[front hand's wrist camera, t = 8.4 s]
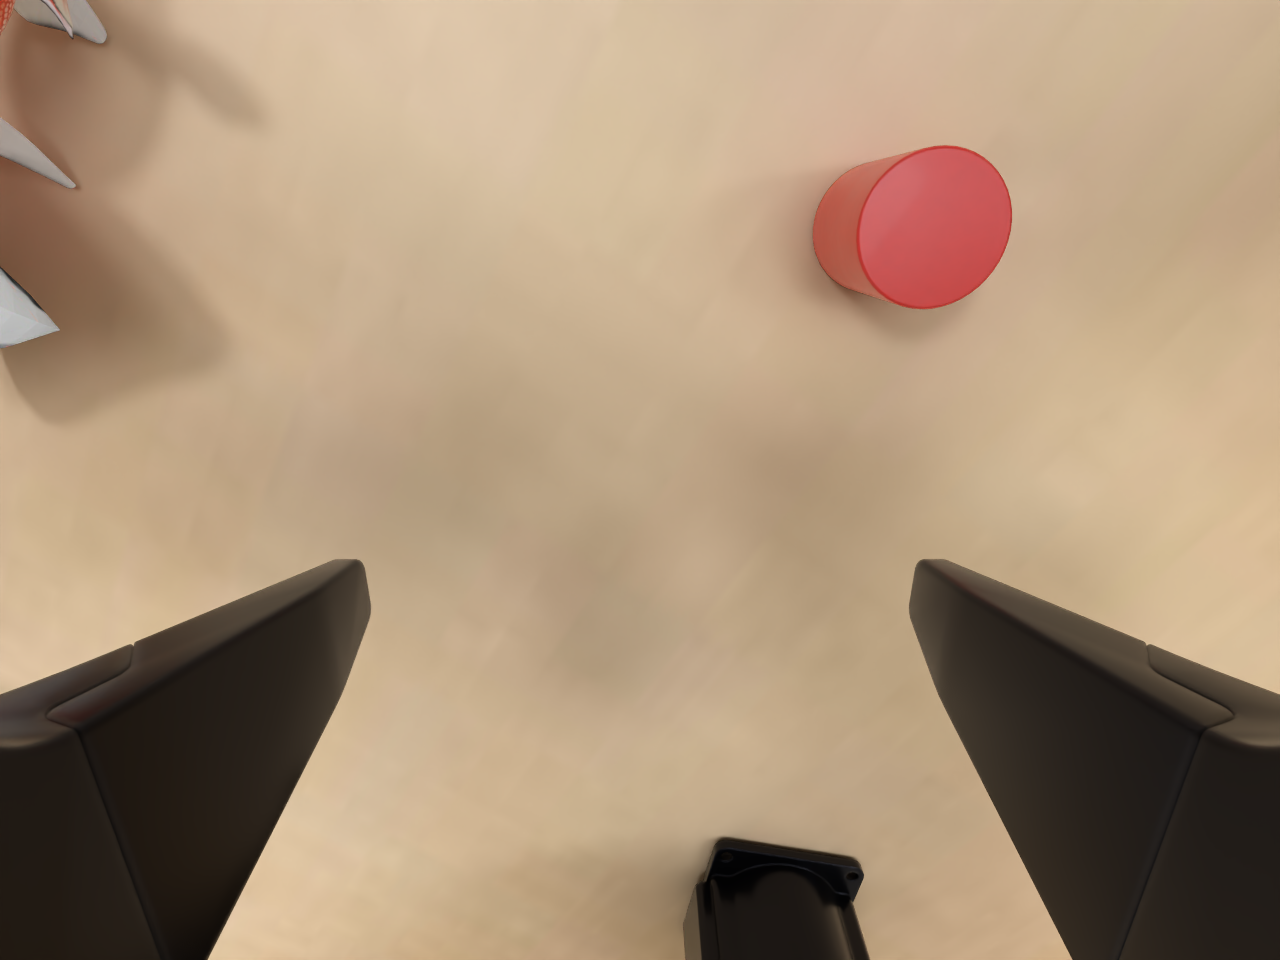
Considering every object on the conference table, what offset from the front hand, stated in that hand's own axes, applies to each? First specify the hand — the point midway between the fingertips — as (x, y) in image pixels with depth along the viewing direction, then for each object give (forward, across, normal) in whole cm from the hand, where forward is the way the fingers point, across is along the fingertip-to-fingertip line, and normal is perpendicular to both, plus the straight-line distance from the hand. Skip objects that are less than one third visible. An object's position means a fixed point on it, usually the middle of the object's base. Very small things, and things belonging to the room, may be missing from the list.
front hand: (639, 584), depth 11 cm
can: (+12, -7, -5) cm, 15 cm away
